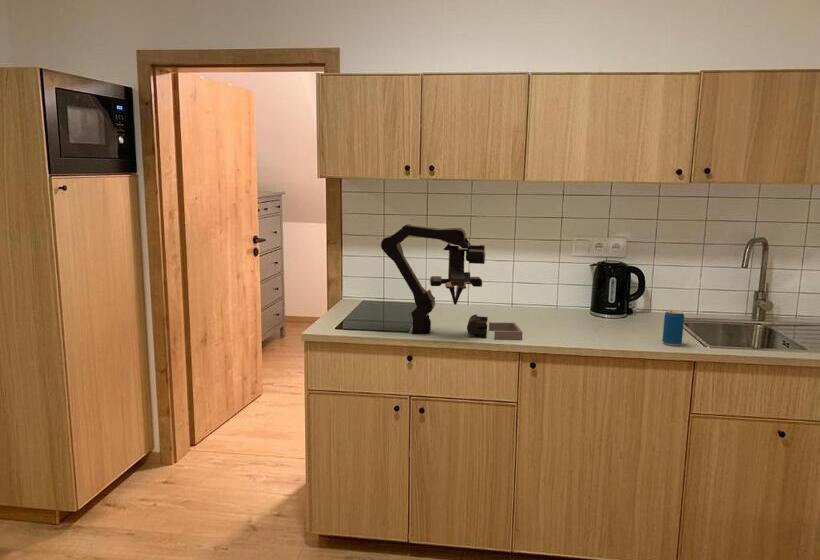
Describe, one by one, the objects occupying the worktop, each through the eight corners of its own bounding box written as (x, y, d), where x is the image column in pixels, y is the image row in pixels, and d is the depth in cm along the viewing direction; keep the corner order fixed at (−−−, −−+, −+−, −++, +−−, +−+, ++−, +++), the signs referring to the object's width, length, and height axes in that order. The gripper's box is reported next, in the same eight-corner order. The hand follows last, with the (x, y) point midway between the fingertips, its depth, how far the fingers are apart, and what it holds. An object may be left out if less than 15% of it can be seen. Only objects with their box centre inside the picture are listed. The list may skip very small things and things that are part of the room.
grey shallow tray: (494, 339, 231) (495, 331, 230) (488, 329, 245) (489, 322, 244) (522, 339, 231) (522, 331, 231) (514, 330, 245) (514, 322, 245)
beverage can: (670, 340, 234) (673, 308, 231) (685, 345, 228) (688, 312, 226) (658, 342, 231) (661, 310, 228) (673, 347, 225) (676, 314, 223)
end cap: (468, 331, 243) (468, 313, 242) (487, 332, 242) (487, 314, 241) (466, 337, 233) (467, 319, 232) (486, 338, 232) (486, 320, 231)
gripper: (432, 265, 224) (431, 308, 227) (485, 266, 225) (483, 309, 228) (430, 261, 235) (429, 302, 238) (480, 261, 236) (479, 302, 239)
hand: (455, 304), depth 235 cm, fingers closed
